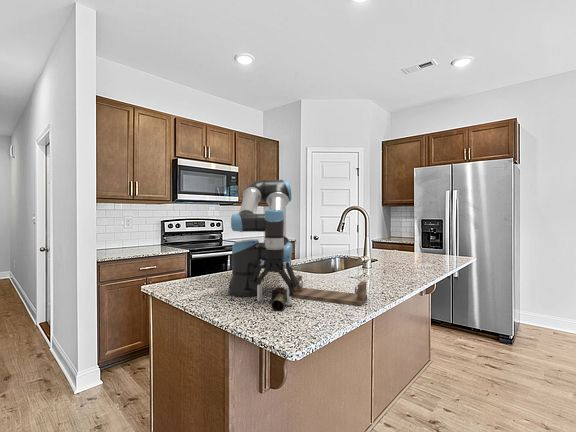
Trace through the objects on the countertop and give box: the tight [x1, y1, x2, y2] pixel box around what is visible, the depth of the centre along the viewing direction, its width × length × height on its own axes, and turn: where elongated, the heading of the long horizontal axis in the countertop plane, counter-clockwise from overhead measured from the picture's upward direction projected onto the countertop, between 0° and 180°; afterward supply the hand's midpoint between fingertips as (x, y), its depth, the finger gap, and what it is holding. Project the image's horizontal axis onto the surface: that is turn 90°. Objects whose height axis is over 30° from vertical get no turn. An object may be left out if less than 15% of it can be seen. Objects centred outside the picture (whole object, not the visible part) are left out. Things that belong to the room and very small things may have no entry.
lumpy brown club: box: [270, 286, 287, 312], centre depth 127 cm, size 18×7×6 cm, turn 173°
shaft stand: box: [292, 274, 368, 307], centre depth 135 cm, size 30×12×8 cm, turn 65°
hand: (274, 302), depth 128 cm, fingers open, 12 cm apart
